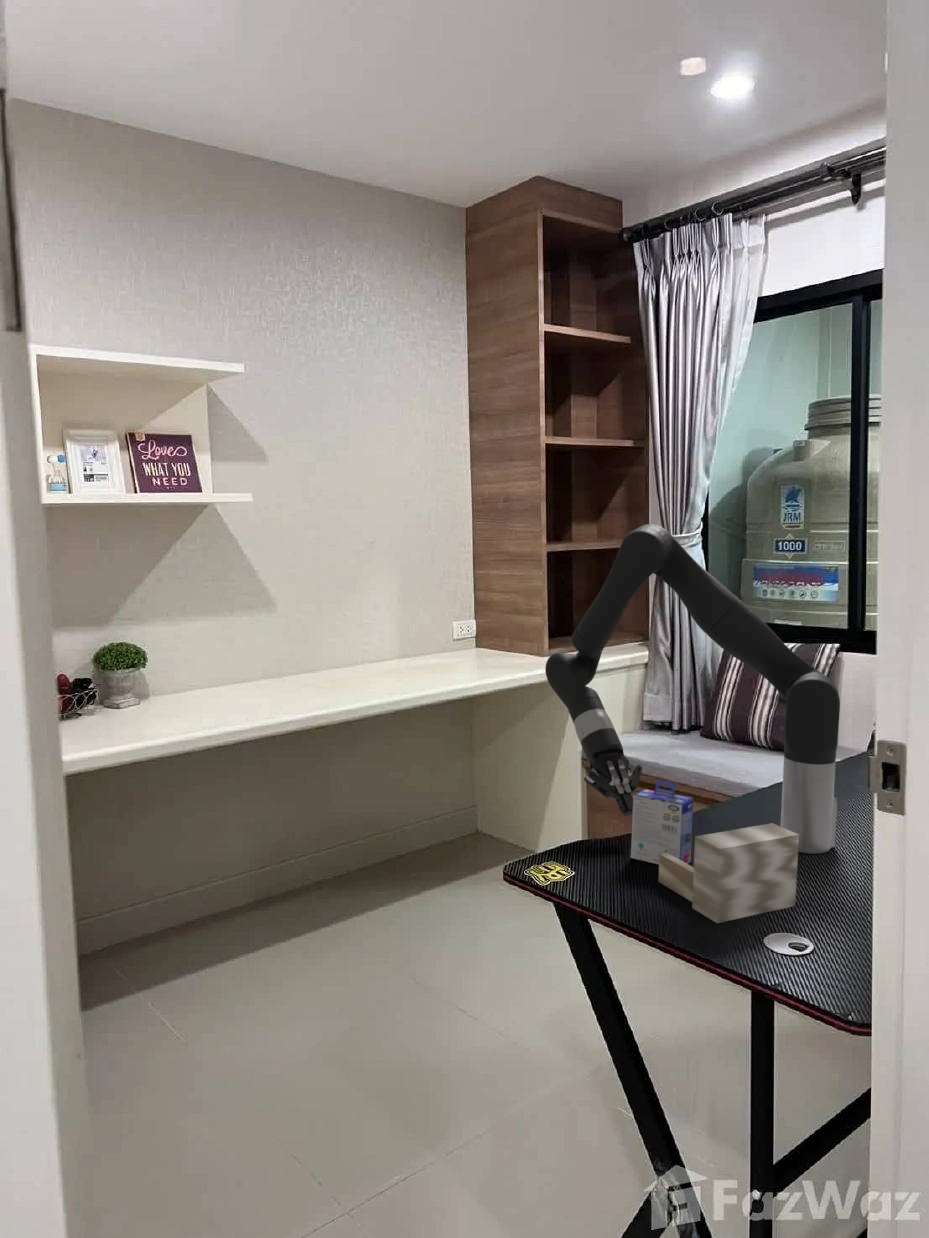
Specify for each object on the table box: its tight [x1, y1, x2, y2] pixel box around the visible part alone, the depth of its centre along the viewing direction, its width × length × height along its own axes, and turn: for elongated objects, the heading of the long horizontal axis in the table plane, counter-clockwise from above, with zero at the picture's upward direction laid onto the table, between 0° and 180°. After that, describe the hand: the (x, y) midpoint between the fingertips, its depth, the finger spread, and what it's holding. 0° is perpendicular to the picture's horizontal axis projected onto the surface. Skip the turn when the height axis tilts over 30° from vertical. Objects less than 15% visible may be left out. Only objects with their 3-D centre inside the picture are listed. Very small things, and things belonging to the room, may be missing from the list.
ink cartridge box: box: [630, 779, 694, 866], centre depth 169 cm, size 10×6×14 cm, turn 54°
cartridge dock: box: [658, 822, 799, 924], centre depth 154 cm, size 16×17×12 cm
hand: (630, 813), depth 177 cm, fingers closed
